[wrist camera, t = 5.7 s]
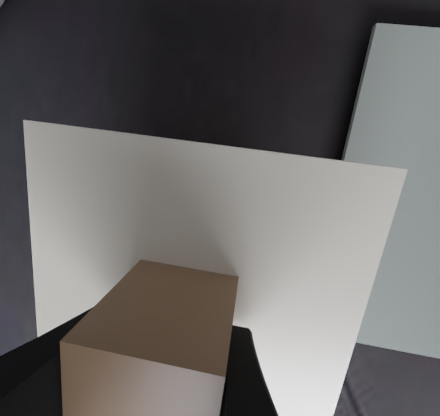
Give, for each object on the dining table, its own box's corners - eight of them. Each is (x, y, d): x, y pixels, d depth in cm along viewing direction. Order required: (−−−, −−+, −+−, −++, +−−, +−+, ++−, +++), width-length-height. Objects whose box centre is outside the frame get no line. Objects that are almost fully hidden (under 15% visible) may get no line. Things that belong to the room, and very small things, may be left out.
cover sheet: (397, 167, 8) (567, 198, 4) (314, 451, 11) (351, 655, 7) (37, 121, 9) (-163, 102, 5) (51, 389, 12) (-63, 528, 8)
